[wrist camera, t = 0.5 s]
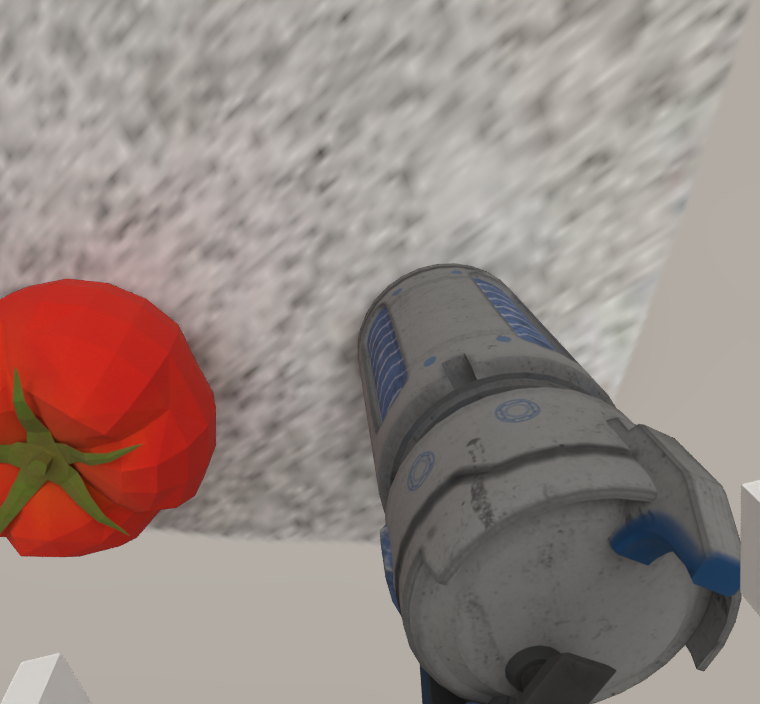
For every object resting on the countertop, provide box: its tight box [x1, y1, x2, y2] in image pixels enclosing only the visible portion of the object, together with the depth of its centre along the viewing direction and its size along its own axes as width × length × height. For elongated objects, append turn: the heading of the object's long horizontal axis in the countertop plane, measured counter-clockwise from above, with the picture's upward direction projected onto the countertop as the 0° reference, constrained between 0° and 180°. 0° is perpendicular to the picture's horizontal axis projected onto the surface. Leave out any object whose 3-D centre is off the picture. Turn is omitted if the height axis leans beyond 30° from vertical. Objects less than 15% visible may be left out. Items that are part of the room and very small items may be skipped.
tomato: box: [0, 279, 216, 557], centre depth 33 cm, size 13×14×12 cm
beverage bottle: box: [358, 263, 741, 704], centre depth 28 cm, size 10×13×25 cm
